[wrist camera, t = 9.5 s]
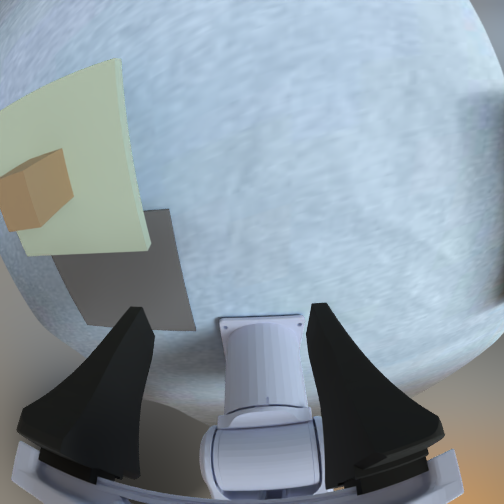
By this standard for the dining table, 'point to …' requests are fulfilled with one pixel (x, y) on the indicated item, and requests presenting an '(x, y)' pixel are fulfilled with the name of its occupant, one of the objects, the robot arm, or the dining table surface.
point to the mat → (131, 281)
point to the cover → (72, 167)
